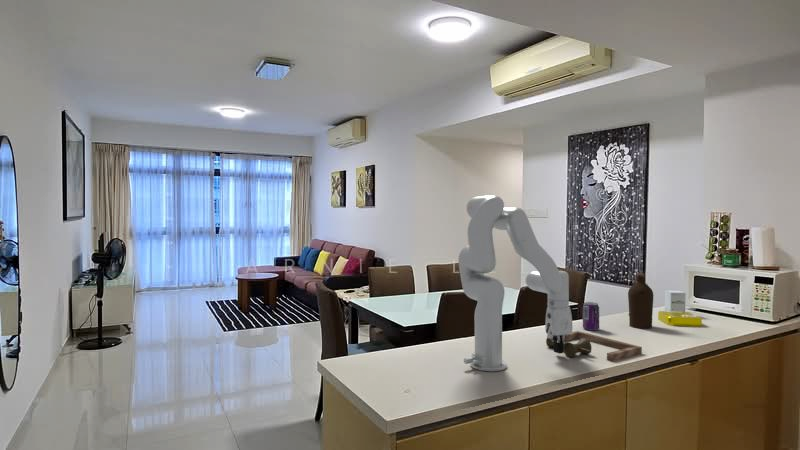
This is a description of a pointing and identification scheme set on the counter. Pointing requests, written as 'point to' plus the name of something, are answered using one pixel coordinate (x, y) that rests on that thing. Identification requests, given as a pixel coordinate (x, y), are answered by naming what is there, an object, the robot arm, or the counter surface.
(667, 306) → the supplement box
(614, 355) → the walnut bay
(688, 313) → the element tile
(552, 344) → the kendama
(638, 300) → the olive oil
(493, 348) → the robot arm
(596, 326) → the beverage can
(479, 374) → the counter surface
